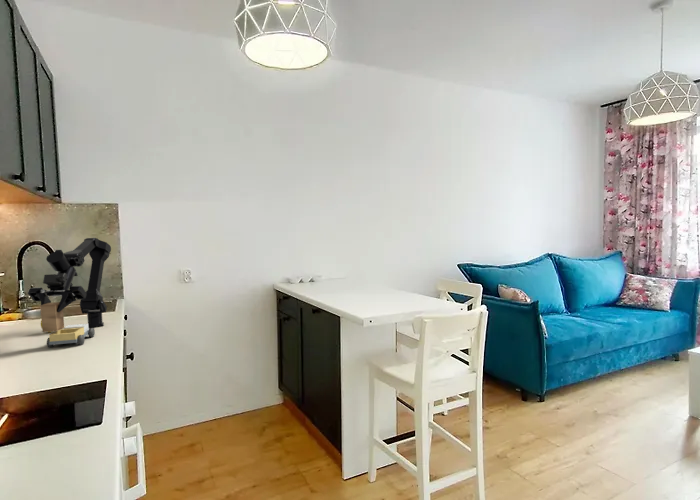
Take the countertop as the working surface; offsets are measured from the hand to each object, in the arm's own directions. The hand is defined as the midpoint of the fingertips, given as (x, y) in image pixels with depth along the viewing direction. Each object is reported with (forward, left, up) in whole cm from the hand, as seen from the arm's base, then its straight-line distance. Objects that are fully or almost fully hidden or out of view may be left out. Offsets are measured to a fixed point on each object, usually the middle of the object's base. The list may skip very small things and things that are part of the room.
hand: (50, 312), depth 159 cm
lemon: (-29, -4, -14) cm, 32 cm away
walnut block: (-1, +1, -7) cm, 7 cm away
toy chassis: (-5, +6, -13) cm, 15 cm away
